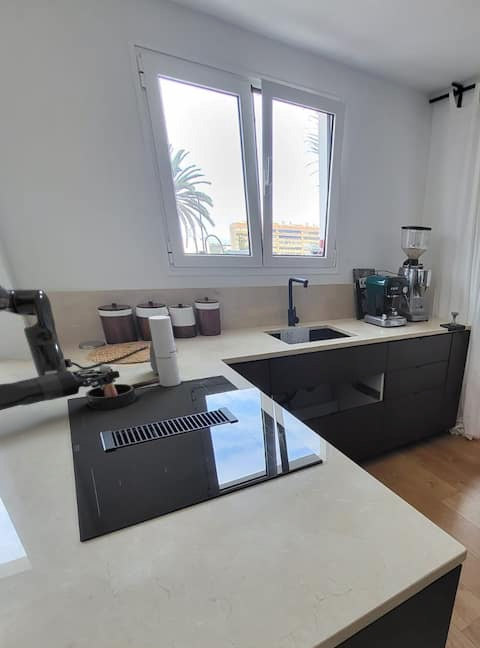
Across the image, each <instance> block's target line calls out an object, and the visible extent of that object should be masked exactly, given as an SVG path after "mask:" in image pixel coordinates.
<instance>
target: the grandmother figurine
mask: <svg viewBox="0 0 480 648" xmlns="http://www.w3.org/2000/svg"><path fill="white" fill-rule="evenodd" d="M98 367H99V368H98V370H99V371H101V372H102V373H108V372H111V370H110V368H111V367H112V366H111V365H110V364H109V363H106V364H102V365H99V366H98ZM111 369H112V368H111ZM102 380H103V378H102ZM108 381H109V383H106V384H103V385H101V386H99V387H100V389H101V390H103V389H104V386H105V390H104V393H105V397H111V396H116V395H118V394H117V392H116V389H115V387H114V384H115V383H116V378H114V379H110V380H108Z"/></svg>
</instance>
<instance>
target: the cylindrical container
mask: <svg viewBox="0 0 480 648" xmlns="http://www.w3.org/2000/svg"><path fill="white" fill-rule="evenodd" d="M147 320H148V324H149V329H150V336H151V341H153V346H154V352H155V357H156V362H157V368H158V373H159V375H158V379H160V382H159V384H160V386H162V387H174V386H179V385H180V384H181V383H182V381H181V374H180V368H179V363H178V357H177V351H176V344H175V338H174V331H173V326H172V320H171V316H169V315H154V316H153V315H152V316H149V317H148V318H147Z"/></svg>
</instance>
